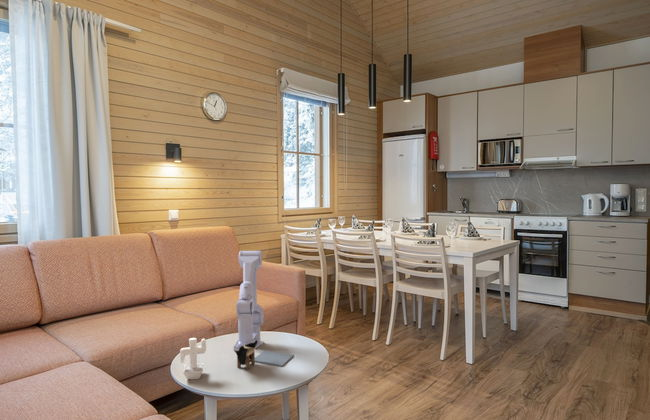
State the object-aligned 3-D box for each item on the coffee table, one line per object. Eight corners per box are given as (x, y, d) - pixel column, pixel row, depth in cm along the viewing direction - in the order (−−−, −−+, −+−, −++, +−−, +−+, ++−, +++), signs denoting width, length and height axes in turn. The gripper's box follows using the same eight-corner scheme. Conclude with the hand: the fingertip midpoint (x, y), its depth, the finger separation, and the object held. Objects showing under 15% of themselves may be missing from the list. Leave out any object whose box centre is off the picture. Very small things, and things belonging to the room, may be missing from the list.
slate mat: (251, 361, 173) (251, 360, 173) (264, 351, 184) (264, 350, 184) (282, 366, 168) (282, 365, 168) (293, 356, 179) (293, 354, 179)
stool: (237, 367, 168) (237, 350, 167) (244, 362, 172) (243, 346, 172) (248, 369, 166) (247, 352, 166) (254, 364, 171) (254, 347, 170)
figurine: (181, 373, 163) (180, 336, 161) (206, 370, 165) (205, 333, 164) (180, 382, 156) (178, 343, 154) (206, 379, 158) (205, 340, 157)
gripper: (244, 336, 160) (244, 370, 161) (263, 324, 173) (263, 355, 174) (228, 333, 162) (229, 367, 163) (248, 322, 176) (249, 353, 177)
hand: (246, 361), depth 169 cm, fingers closed on stool, 5 cm apart
